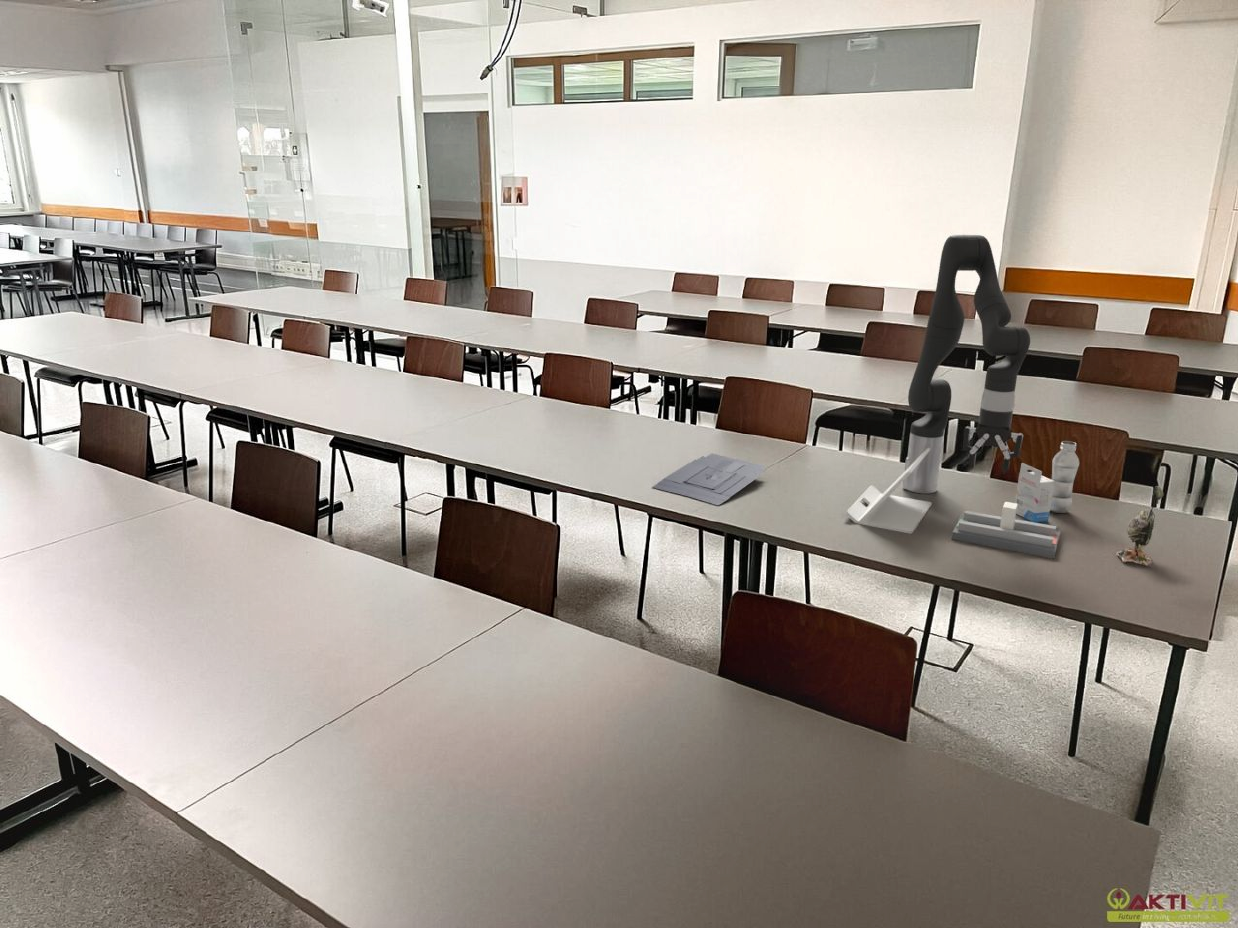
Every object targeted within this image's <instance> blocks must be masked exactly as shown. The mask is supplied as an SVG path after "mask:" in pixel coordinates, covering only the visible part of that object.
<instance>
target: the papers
mask: <svg viewBox="0 0 1238 928" xmlns="http://www.w3.org/2000/svg"><path fill="white" fill-rule="evenodd" d="M767 467H768V466H767V465H763V464H759V463H755V462H750V461H747V460H746V461H745V460H741V459H738V458H737V459H736V458H733V457H728V456H723V455H721V454H716V453H710V454H709V455H708V454H707V456H704V455H702V456H701V457H698V458H697V459H694V460H692V461H691V462H688V463H686V464H685V465H682V466H681V467H680V468H679V469H677V470H675V471H674V472H672V473H670V474H669V475H667V476H666V477H664V478H662V479H661V480H660V481H658V482H657V483H655V485H653V486H652V487H651V488H653V489H657V490H659V491H666V492H670V493H674V494H677V495H678V494H679V495H682V496H684V497H688V498H692V499H696V500H699V501H703V502H705V503H708V504H712V505H715V506H719V505H720V506H721V504H723V503H725V502H727V500H729V499H731V498H732V497H733V496H734V495H736V494H737V493H738V492H739V491H741V490H743V489H744V488H745V487H747V486H748V485H749V484H751V483H753V481H755V480H757V479H758V478H759V477H761V476H762V474H763V473H764V472H765V468H767Z"/></svg>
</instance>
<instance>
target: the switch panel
mask: <svg viewBox="0 0 1238 928" xmlns="http://www.w3.org/2000/svg"><path fill="white" fill-rule="evenodd" d="M1000 523H1001V516H998V515H993V514H988V513H982V512H976V511H971V510H965V511H964V513H963V514H961V516H960V517H959V519H958V521H957V523H956V525H955V527H954V529H953V530H952V532H951V533H952V534H951V540H954V541H955V540H956V541H960V542H966V543H970V544H975V545H982V546H987V547H990V548H991V547H992V548H995V549H996V548H997V549H1002V550H1007V551H1012V552H1018V553H1022V554H1023V553H1024V554H1028V555H1034V556H1041V557H1043V558H1049V559H1055V557H1056V552H1057V549H1058V546H1059V545H1058V544H1059V539H1060V534H1061V531H1059V530H1057V526H1056V525H1051V524H1045V523H1041V522H1037V523H1034V522H1031V521H1029V520H1023V519H1016V518H1015V525H1014V530H1011V529H1006V528H1000Z"/></svg>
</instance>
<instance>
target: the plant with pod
mask: <svg viewBox="0 0 1238 928" xmlns="http://www.w3.org/2000/svg"><path fill="white" fill-rule="evenodd" d="M1151 497H1152V501H1153V502H1152V503H1153V504H1152V507H1151V509H1147V508H1146V509H1143V510H1141V511H1139V512H1138V513H1137V514H1135V516H1133V517H1132V518H1131V519H1130V520H1129V522H1128V523H1127V527H1126V530H1127V535H1128V538H1130V540H1131V542H1132V543H1134V547H1133V548H1130V547H1127V548H1125V549H1123V550H1117V551H1116V556H1119V558H1120V559H1121V560H1122V562H1123V563H1126V562H1127V563H1128V562H1130V563H1131V562H1133V563H1135V564H1138V565H1143V566H1145V567H1151V564H1152V562H1153V558H1151V557H1150V556H1148V555H1147V553H1145V552H1144V551H1143V549H1144V548H1145V547H1146V546H1147V545H1148V544H1149V543H1150V540H1151V539H1152V536H1153V535H1152V533H1153V529H1154V525H1155V523H1154V522H1155V517H1156V516H1155V514H1154V511H1156V509H1154V507H1155V505H1156V504H1157V505H1159V500H1160V501H1161V499H1162V498H1163V497H1164V492H1163V489H1162V487H1161V485H1156V486H1154V490H1153V493H1152V495H1151ZM1153 510H1154V511H1153Z"/></svg>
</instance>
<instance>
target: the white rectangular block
mask: <svg viewBox="0 0 1238 928" xmlns="http://www.w3.org/2000/svg"><path fill="white" fill-rule="evenodd" d="M1017 506H1018V504H1017V503H1015V502H1009V501H1004V503H1003V506H1002V511H1001V516H1000V517H1001V523H1000V528H1006V529H1011V530H1014V525H1015V519H1016V517H1017V514H1016V512H1017Z"/></svg>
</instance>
